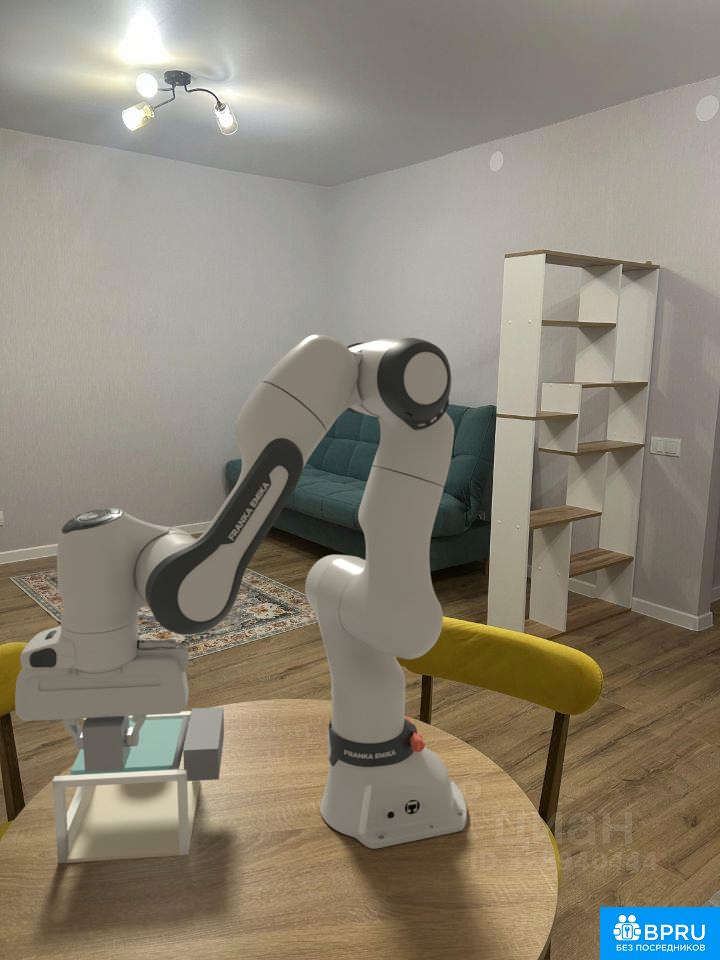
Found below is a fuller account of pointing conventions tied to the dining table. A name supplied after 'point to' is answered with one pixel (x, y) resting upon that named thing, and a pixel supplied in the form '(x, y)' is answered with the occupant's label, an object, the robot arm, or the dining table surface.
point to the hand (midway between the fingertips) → (107, 745)
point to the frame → (125, 813)
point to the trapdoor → (175, 746)
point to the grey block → (105, 743)
